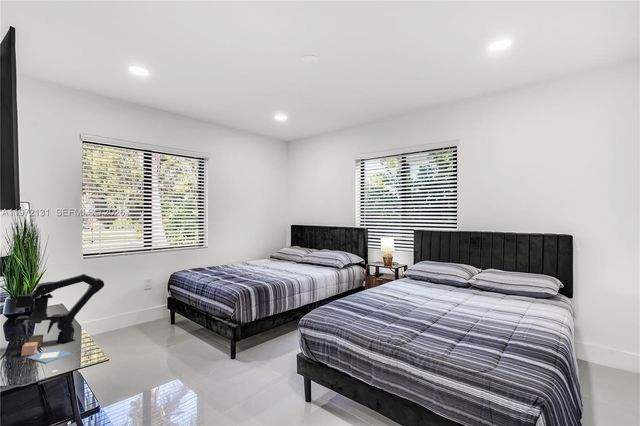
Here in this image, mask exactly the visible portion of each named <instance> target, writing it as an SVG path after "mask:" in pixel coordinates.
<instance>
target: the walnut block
mask: <svg viewBox="0 0 640 426" xmlns="http://www.w3.org/2000/svg"><path fill="white" fill-rule="evenodd" d="M30 342H38V346H37V348H40V347H41V346H42V345H43V344H44V343H43V342H44V334H35V335H33V334H32V335H31V336H30V337H29V338H28V343H30Z"/></svg>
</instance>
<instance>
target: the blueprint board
mask: <svg viewBox="0 0 640 426" xmlns="http://www.w3.org/2000/svg"><path fill="white" fill-rule="evenodd" d="M70 355H72V353H71V352H68V351H63V350H59V349H55V348H51V349H48V350H45V351H41V352H39V353H35V354H34V355H28V356H26V357H27V359H28V360H31V359H32V360H33V361H35V360H36V362H39V363H43V364H48V363H52V362H53V361H58V360H60V359H62V358H65V357H68V356H70ZM32 360H31V361H32Z"/></svg>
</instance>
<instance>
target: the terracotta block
mask: <svg viewBox="0 0 640 426" xmlns="http://www.w3.org/2000/svg"><path fill="white" fill-rule="evenodd" d="M37 346H38V342H30V343H29V342H25V343H24V344H23V345H22V348H21V354H20V356H21V357H25V356H26V357H28V356H32V355H35V354H37V352H38V347H37ZM36 351H37V352H36ZM27 355H28V356H27Z"/></svg>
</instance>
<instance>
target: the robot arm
mask: <svg viewBox="0 0 640 426" xmlns="http://www.w3.org/2000/svg"><path fill="white" fill-rule="evenodd" d="M78 283H80V284H81V283H85V284H87V285H89V286H88V288H87V290H86V291H85V292H84V294H82V296H81V297H80V298H79V299H78V300H77V301H76V302H75V304H74V305H73V306H72V307H71V308H70V309H69V311H68V312H66V313H61V314H60V313H58V314H55V313H54V314H52V315H51V316H49V315H48V304H49V299H53V298H54V295H52V294H51V293H52V292H54V291H57V290H58V289H61V288H64V287H68V286H72V285H75V284H78ZM104 286H105V282H104V281H103V280H102V279H101V278H99V277H96V278H95V277H93V276H90V275H87V274H85V273H81V274H79V275H76V276H73V277H68V278H64V279H61V280H58V281H47V282H41V283H39V284H37V286H36V287H35V289H34V290H33V291H32V292H31V294H23V295H22V294H20V295H19V294H18V295H17V296H16V300H15V309H27V308H30V307H32V306H33V308H32V312H31V315H30V317H29V316H28V315H20V316H18V317H17V318H16V319H15V320H14V325H17V326H18V327H19V326H20V327H21V329H22V330H23V333H24V335H25V337H26V336H28V329H29V324H30V325H33V324H38V325H39V324H42V322H43V321H49V323H48V328H47V332H46V333H47V335H48V334H49V333H50V331H51V329H52V327H53V326H54V324H56V326H57V329H58V330H60V331H59V332H58V335H57V340H56V341H55V343H59V344H63V345H64V344H68V343H72V342H74V341H76V339H75V338H74V334H75V327H74V324H73V321H74V319H75V317H76V316H77V315H78V313H79V312H80V311H81V310H82V309H83V307H84V306H85V305H86V304H87V303H88V302H89V301H90V299H91V298H92V297H93V296H95V294H96V293H98V292H99V291H101V290H102V289H103V288H104Z"/></svg>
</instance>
